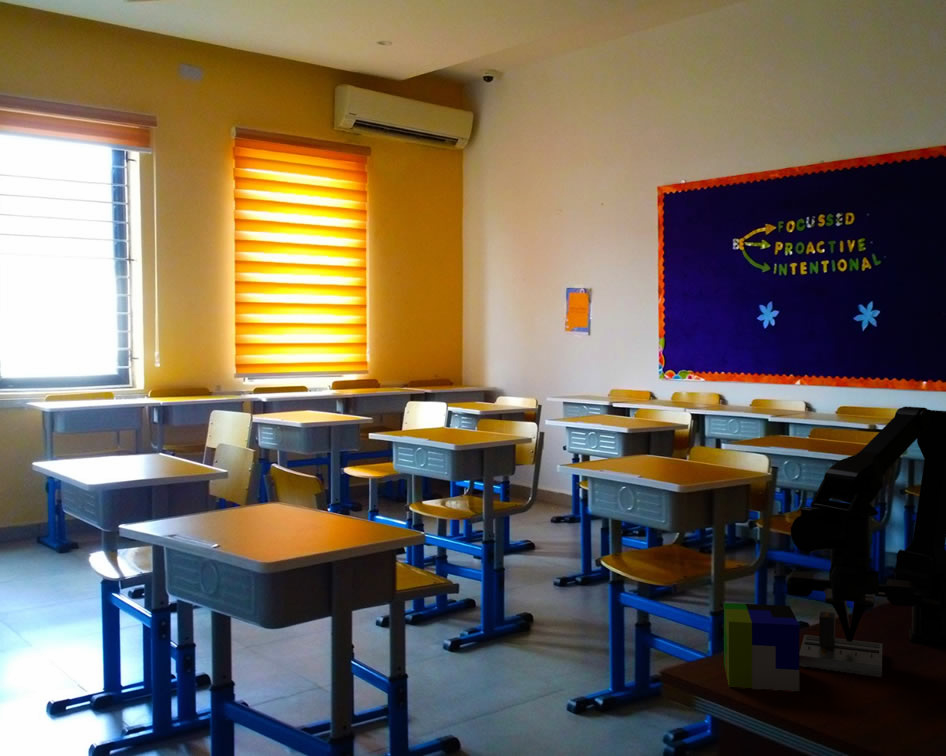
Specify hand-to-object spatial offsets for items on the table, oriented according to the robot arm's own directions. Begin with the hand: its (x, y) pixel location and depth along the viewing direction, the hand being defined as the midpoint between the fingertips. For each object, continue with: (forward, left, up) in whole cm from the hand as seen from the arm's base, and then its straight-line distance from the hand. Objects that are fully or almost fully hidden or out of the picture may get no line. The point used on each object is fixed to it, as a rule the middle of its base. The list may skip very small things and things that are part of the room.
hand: (849, 640), depth 145 cm
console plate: (+1, -1, -3) cm, 3 cm away
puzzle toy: (+13, -12, -3) cm, 19 cm away
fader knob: (0, -3, -1) cm, 4 cm away
